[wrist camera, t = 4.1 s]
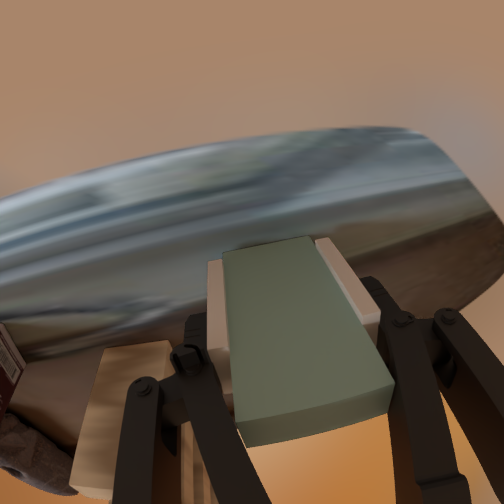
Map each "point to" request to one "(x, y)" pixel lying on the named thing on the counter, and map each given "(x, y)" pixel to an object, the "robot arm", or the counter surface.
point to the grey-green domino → (297, 346)
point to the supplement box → (8, 369)
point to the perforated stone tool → (34, 458)
